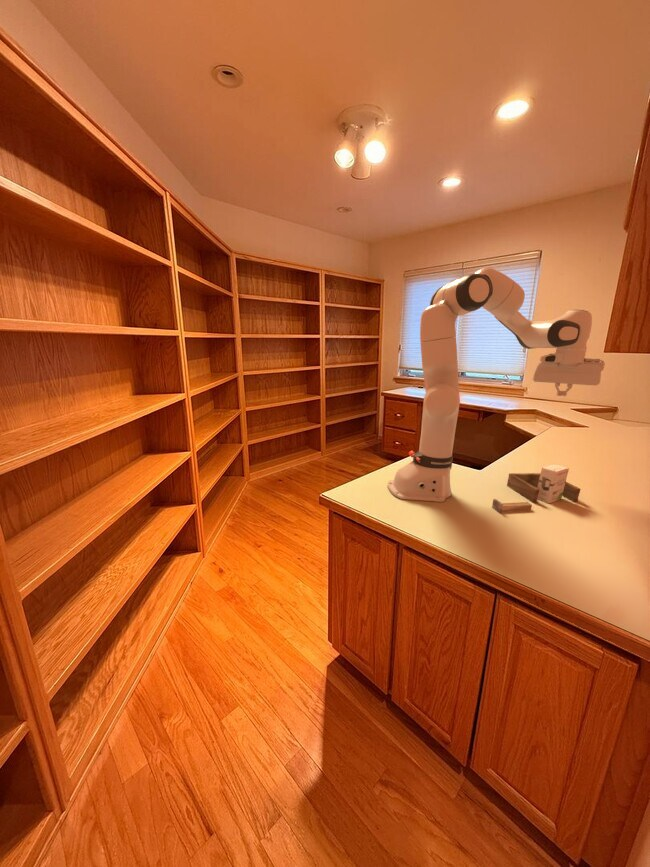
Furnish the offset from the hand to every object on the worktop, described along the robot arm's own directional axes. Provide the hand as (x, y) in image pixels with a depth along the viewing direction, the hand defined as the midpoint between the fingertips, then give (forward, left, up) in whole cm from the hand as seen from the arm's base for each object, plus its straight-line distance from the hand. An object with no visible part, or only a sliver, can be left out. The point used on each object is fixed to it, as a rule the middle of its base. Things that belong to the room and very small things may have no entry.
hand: (561, 395), depth 121 cm
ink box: (-10, -15, -35) cm, 39 cm away
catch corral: (-10, -12, -34) cm, 38 cm away
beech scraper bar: (-29, -23, -34) cm, 50 cm away
